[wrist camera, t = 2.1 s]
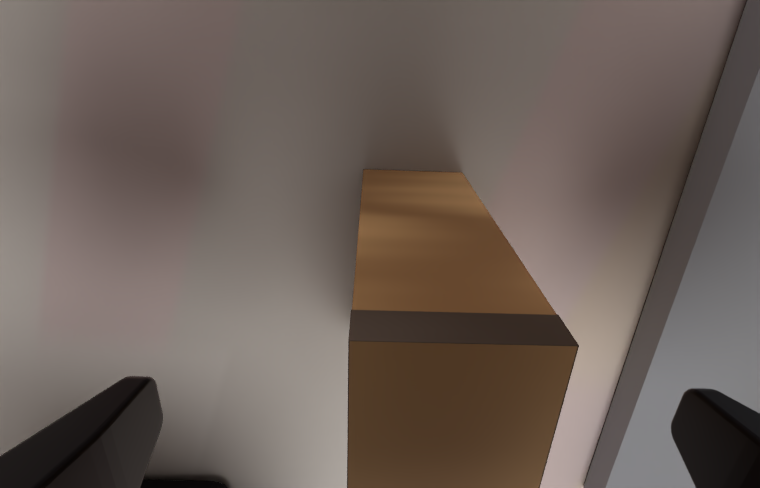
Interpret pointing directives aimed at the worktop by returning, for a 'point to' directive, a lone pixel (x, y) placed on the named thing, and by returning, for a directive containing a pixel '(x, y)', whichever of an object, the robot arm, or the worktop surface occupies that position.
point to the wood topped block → (447, 344)
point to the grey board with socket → (697, 290)
